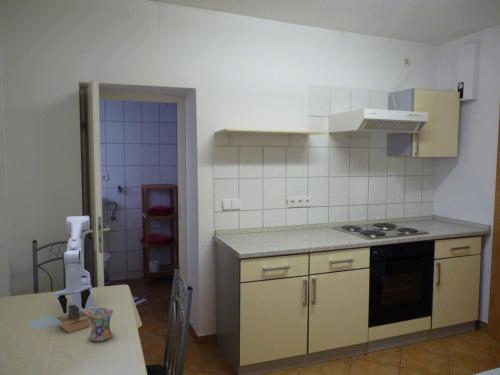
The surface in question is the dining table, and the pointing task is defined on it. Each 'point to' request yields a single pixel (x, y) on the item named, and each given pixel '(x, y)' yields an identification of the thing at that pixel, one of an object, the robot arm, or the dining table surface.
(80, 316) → the lid
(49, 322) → the mat
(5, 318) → the dining table surface
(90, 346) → the dining table surface
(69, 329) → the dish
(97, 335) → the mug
